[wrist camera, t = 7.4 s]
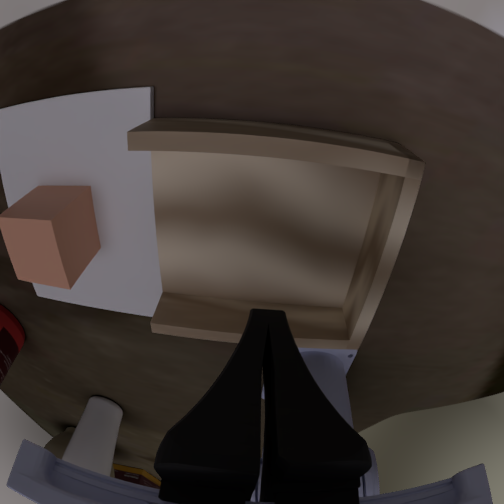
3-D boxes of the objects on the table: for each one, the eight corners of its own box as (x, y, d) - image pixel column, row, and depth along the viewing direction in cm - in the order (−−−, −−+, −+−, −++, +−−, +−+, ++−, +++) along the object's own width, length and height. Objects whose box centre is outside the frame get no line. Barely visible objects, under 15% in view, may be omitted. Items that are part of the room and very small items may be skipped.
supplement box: (143, 468, 56) (130, 525, 43) (168, 486, 64) (160, 534, 51) (107, 461, 58) (93, 513, 45) (136, 480, 66) (126, 525, 53)
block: (101, 247, 22) (70, 289, 18) (51, 242, 22) (18, 279, 18) (90, 185, 19) (50, 220, 15) (38, 185, 19) (-3, 217, 15)
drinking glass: (79, 386, 36) (44, 477, 23) (122, 397, 36) (92, 497, 23) (93, 409, 39) (66, 491, 27) (133, 419, 39) (110, 507, 27)
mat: (168, 313, 26) (166, 318, 25) (40, 292, 26) (37, 295, 25) (154, 86, 16) (150, 87, 16) (-3, 109, 16) (-8, 111, 16)
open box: (349, 312, 25) (358, 349, 21) (165, 296, 25) (152, 332, 22) (398, 143, 17) (425, 162, 14) (153, 117, 17) (127, 131, 14)
